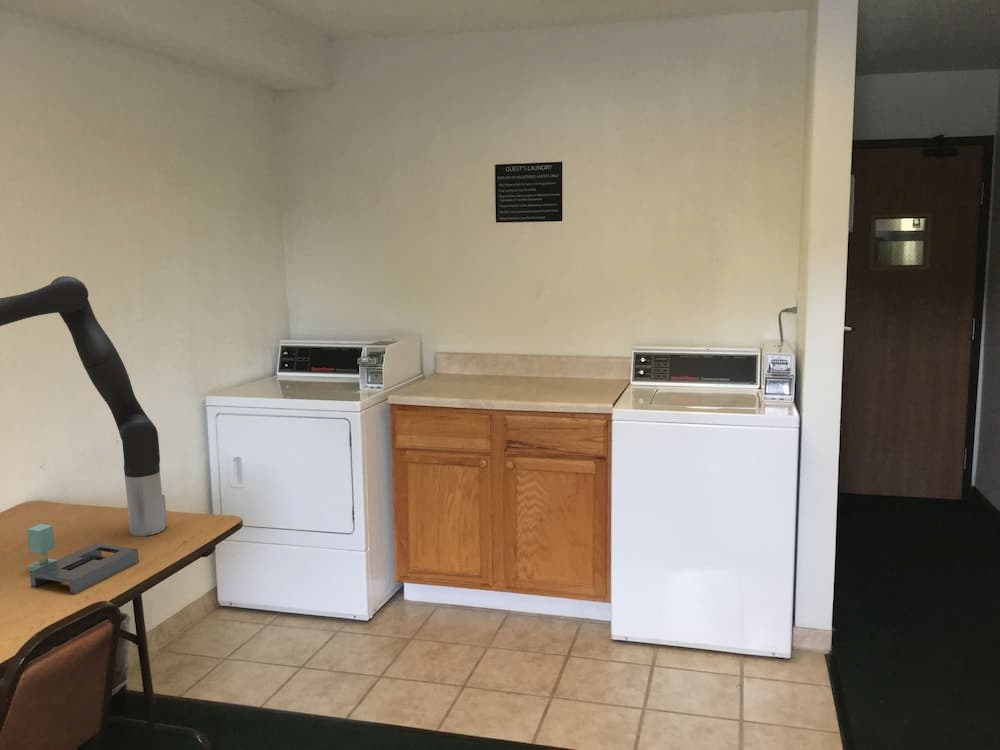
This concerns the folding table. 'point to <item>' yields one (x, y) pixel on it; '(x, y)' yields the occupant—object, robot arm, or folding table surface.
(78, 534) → the folding table surface
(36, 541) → the teal stud
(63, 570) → the keyhole plate
